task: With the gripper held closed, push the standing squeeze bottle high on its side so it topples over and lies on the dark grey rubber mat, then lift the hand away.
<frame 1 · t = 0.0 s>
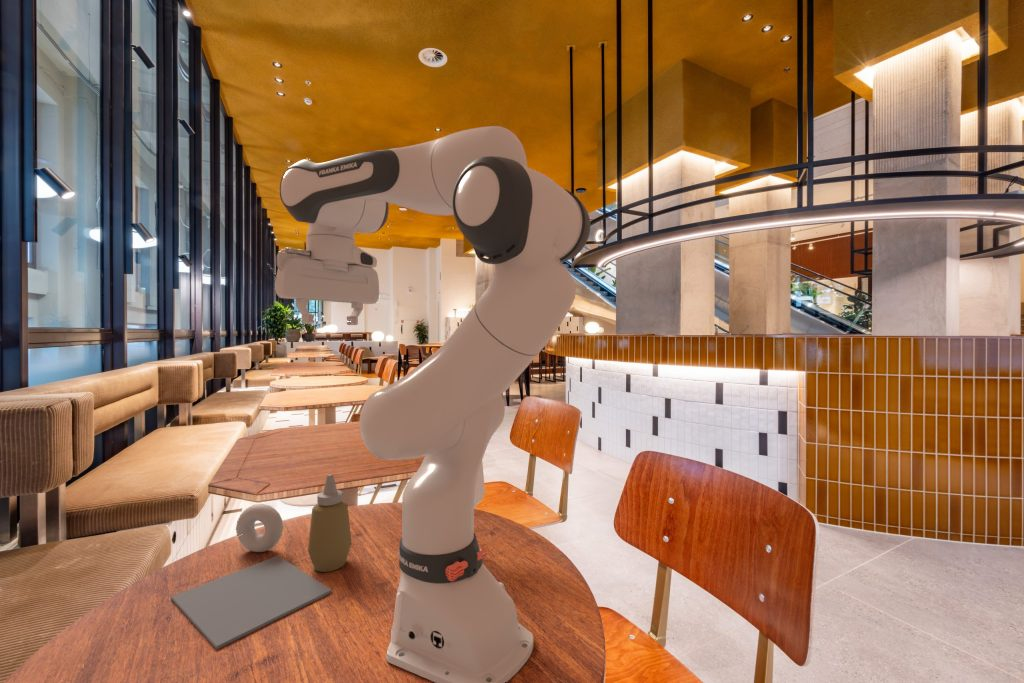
hand: (331, 324, 87), 48 cm above the table, tool pointing down, fingers open, 8 cm apart
mat: (252, 596, 77), on the table
squeeze bottle: (330, 566, 88), on the table
donut: (259, 552, 93), on the table
champagne flute: (468, 555, 92), on the table
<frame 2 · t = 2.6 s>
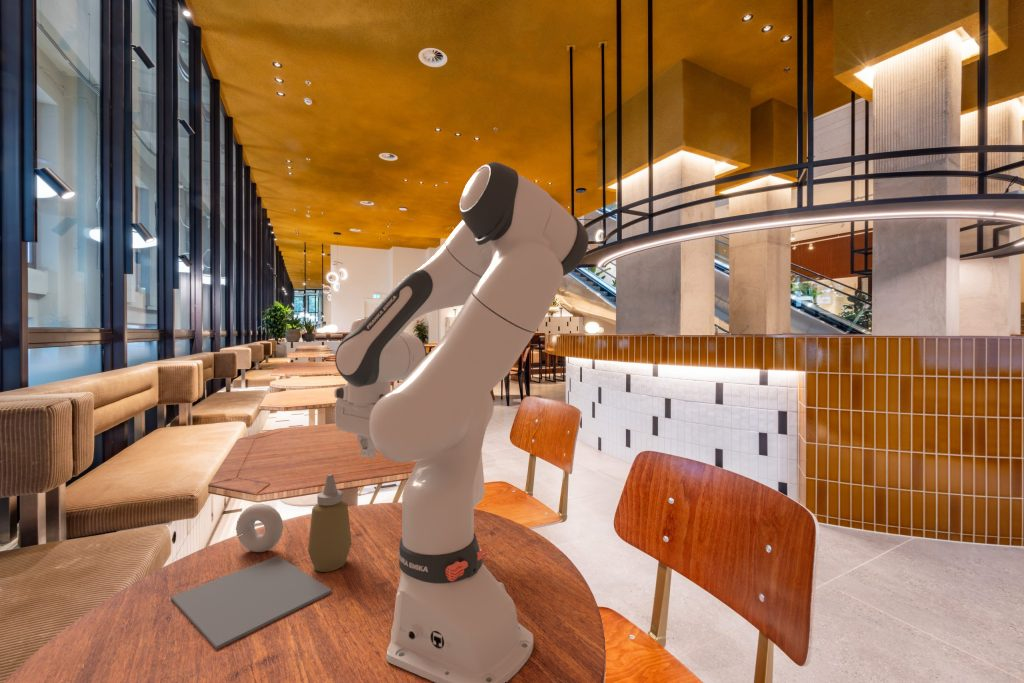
hand: (368, 456, 95), 20 cm above the table, tool pointing down, fingers closed
nothing on the table moved.
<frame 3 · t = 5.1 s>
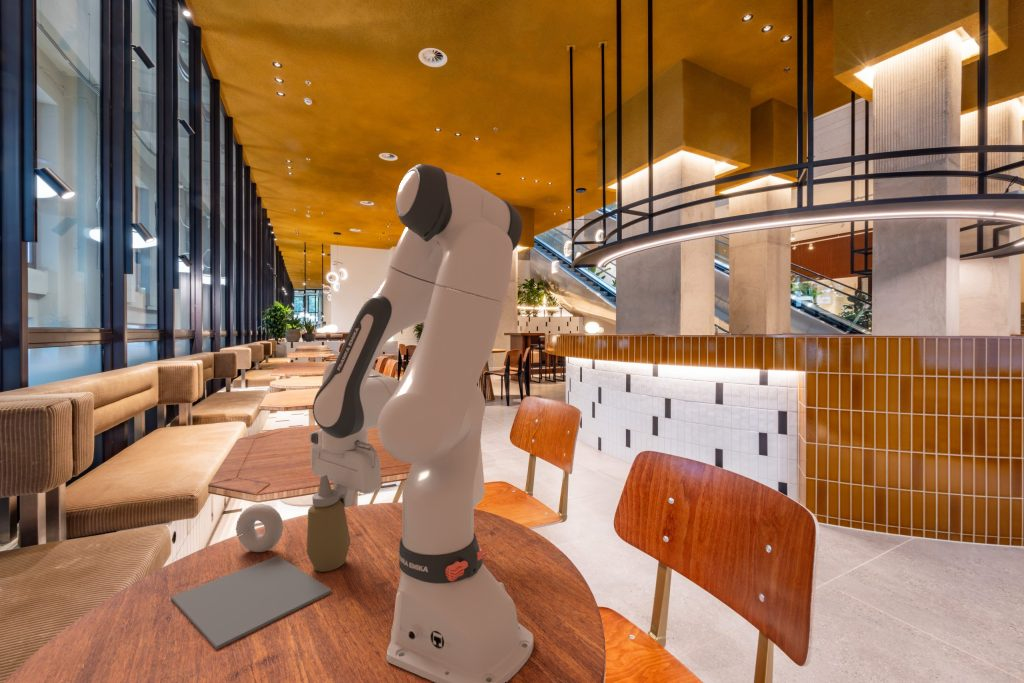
hand: (344, 504, 90), 11 cm above the table, tool pointing down, fingers closed
squeeze bottle: (330, 565, 88), on the table, touching gripper
everything else where it was.
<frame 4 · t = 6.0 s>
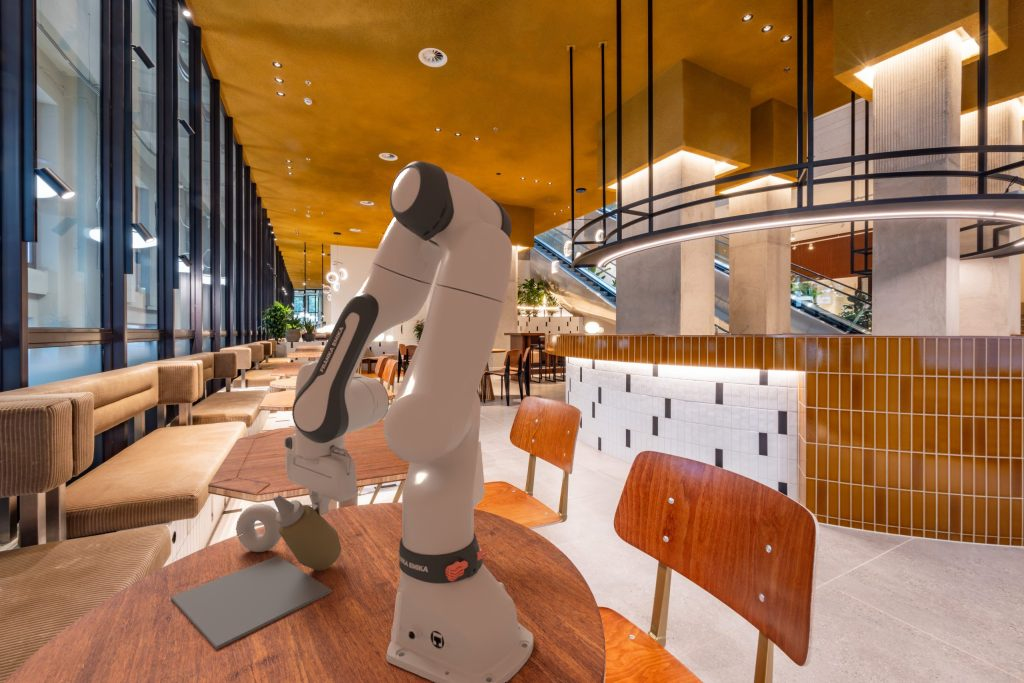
hand: (320, 512, 86), 11 cm above the table, tool pointing down, fingers closed
squeeze bottle: (328, 557, 87), point 2 cm above the table
everything else where it was.
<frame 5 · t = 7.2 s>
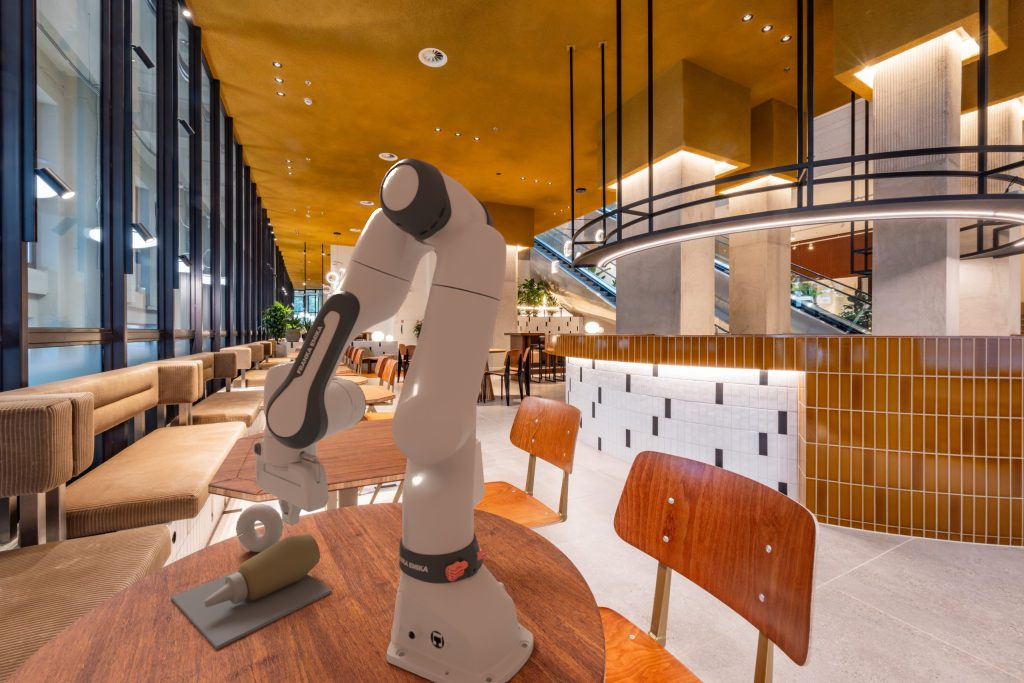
hand: (290, 522, 81), 11 cm above the table, tool pointing down, fingers closed
squeeze bottle: (313, 548, 85), point 5 cm above the table, touching mat
everything else where it was.
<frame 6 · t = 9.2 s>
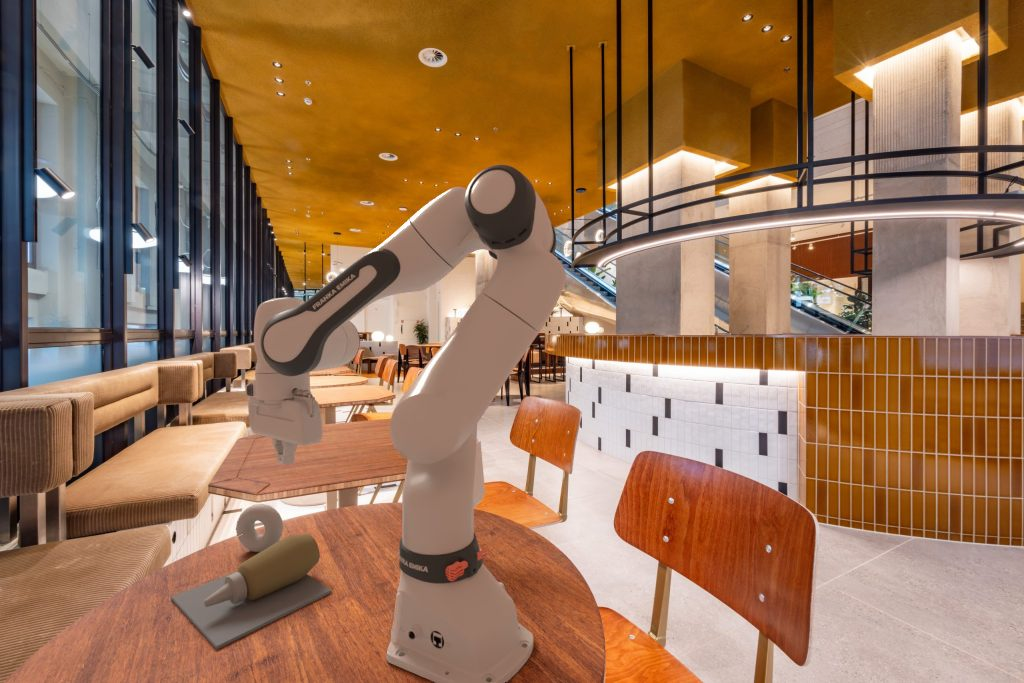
hand: (285, 463, 80), 22 cm above the table, tool pointing down, fingers closed
nothing on the table moved.
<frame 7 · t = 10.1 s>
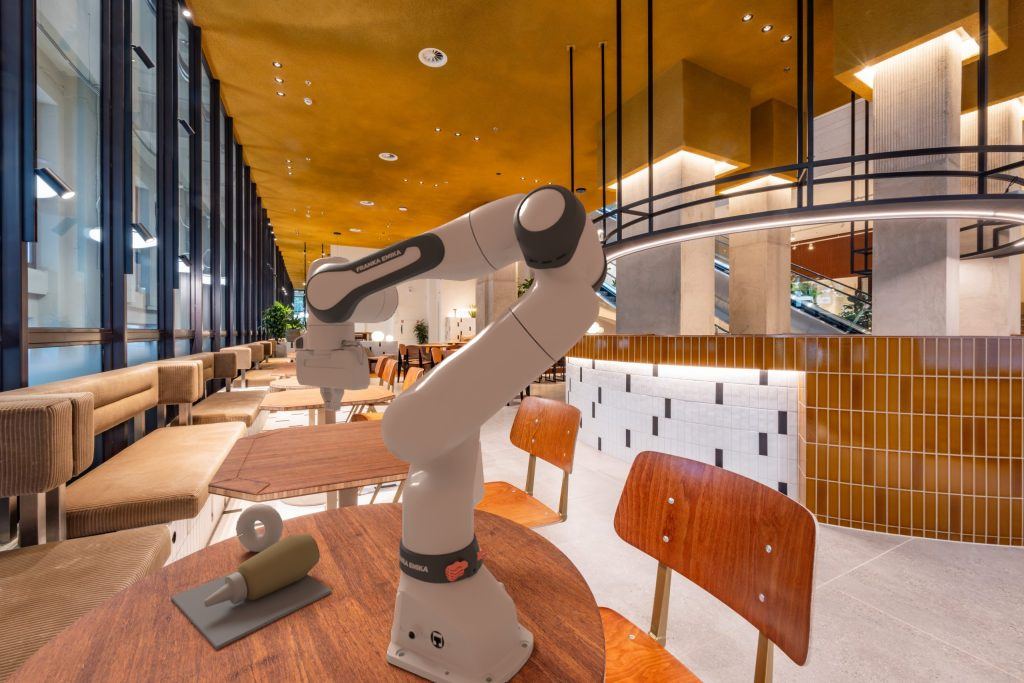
hand: (332, 410, 87), 31 cm above the table, tool pointing down, fingers closed
nothing on the table moved.
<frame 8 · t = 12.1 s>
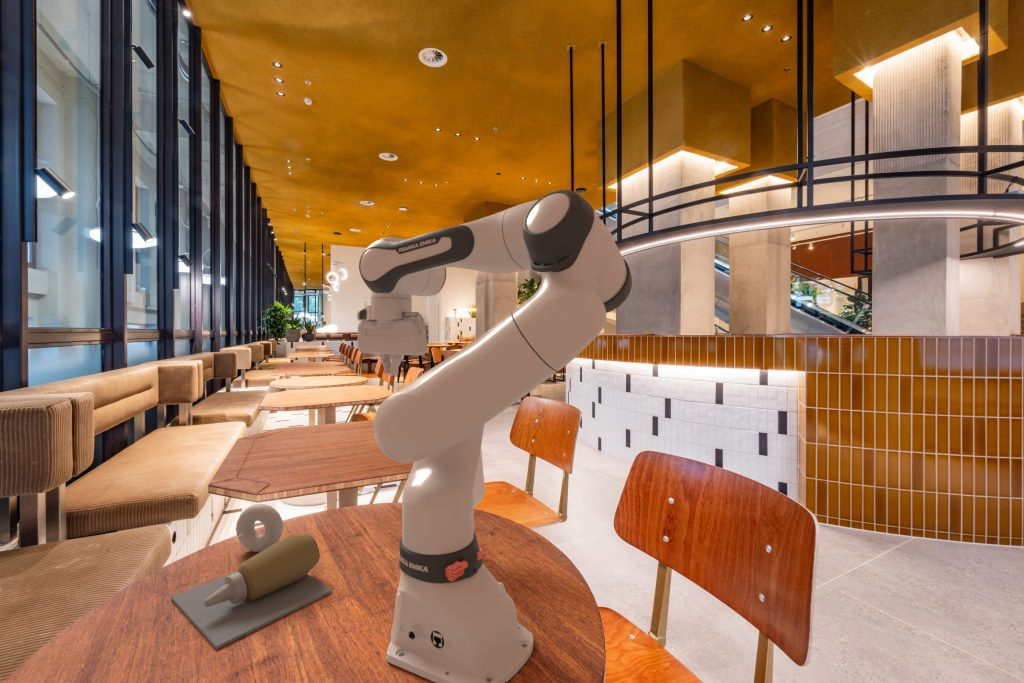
hand: (391, 374, 98), 37 cm above the table, tool pointing down, fingers closed
nothing on the table moved.
at the end: squeeze bottle tilted 95°; squeeze bottle touching mat; squeeze bottle inside the target area (6.5 cm from its centre), point 4.8 cm above the table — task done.
